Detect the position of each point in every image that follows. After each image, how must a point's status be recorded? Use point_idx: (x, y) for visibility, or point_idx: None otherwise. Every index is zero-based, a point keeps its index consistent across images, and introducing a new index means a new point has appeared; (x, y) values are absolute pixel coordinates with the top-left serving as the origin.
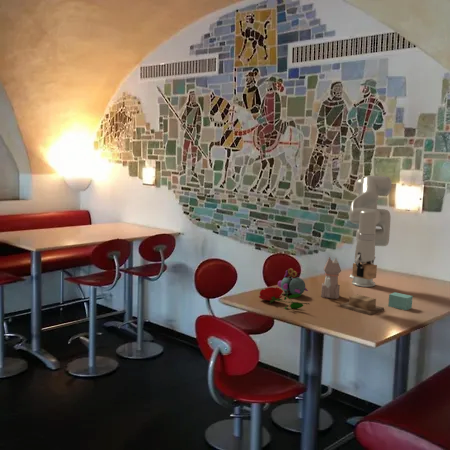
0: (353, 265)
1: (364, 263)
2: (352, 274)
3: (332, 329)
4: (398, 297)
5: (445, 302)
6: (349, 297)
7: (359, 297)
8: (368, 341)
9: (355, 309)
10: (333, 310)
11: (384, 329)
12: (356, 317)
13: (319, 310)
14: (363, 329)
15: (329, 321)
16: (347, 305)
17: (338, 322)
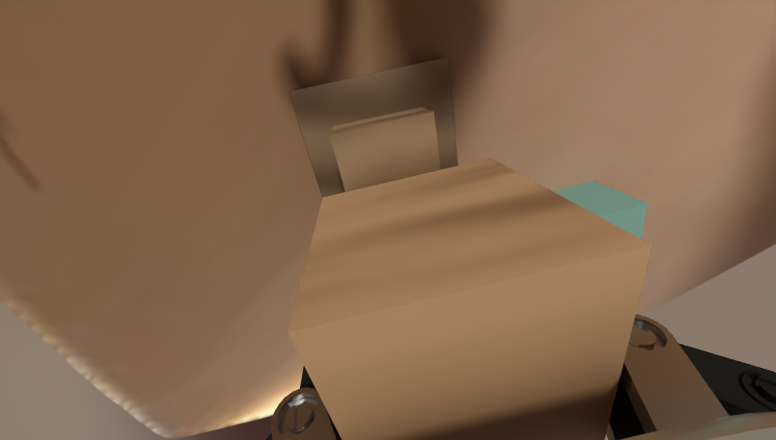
0: (304, 305)
1: (548, 395)
2: (321, 209)
3: (64, 337)
4: None
5: (763, 250)
6: (330, 135)
7: (381, 180)
8: (153, 431)
9: (322, 195)
10: (206, 132)
11: (278, 381)
12: (263, 264)
13: (109, 91)
14: (201, 365)
15: (92, 263)
16: (316, 133)
17: (134, 286)
